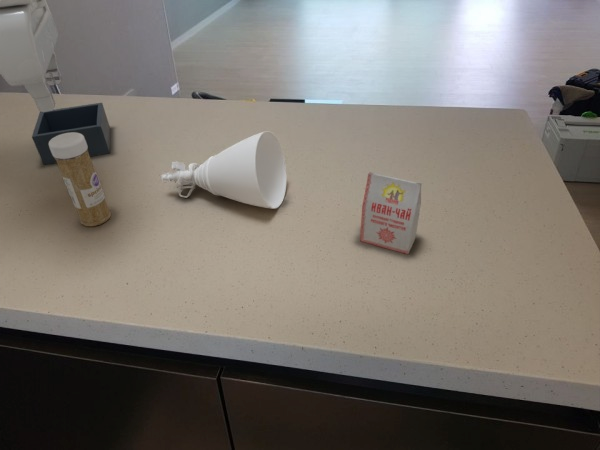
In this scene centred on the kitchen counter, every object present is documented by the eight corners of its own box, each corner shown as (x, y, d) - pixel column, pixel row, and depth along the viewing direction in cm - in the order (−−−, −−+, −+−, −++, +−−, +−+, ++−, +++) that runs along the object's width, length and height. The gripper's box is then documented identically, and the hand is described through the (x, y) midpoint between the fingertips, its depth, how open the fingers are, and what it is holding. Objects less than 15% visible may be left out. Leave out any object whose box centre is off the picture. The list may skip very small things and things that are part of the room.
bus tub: (43, 164, 83) (31, 137, 80) (50, 137, 92) (39, 111, 89) (109, 153, 86) (100, 125, 82) (110, 128, 95) (102, 102, 91)
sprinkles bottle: (110, 224, 68) (80, 143, 60) (78, 229, 67) (43, 148, 59) (113, 207, 72) (85, 129, 63) (83, 212, 71) (51, 133, 63)
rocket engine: (147, 136, 69) (254, 121, 63) (191, 152, 80) (286, 141, 74) (147, 211, 68) (255, 204, 62) (191, 218, 79) (287, 212, 73)
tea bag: (369, 226, 66) (373, 165, 59) (415, 238, 63) (425, 176, 57) (360, 241, 63) (363, 179, 57) (408, 254, 60) (417, 191, 54)
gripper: (-8, -35, 58) (35, 73, 66) (-52, -5, 42) (12, 132, 51) (45, -40, 59) (81, 67, 68) (22, -12, 44) (72, 122, 52)
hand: (52, 95), depth 59 cm, fingers open, 8 cm apart
